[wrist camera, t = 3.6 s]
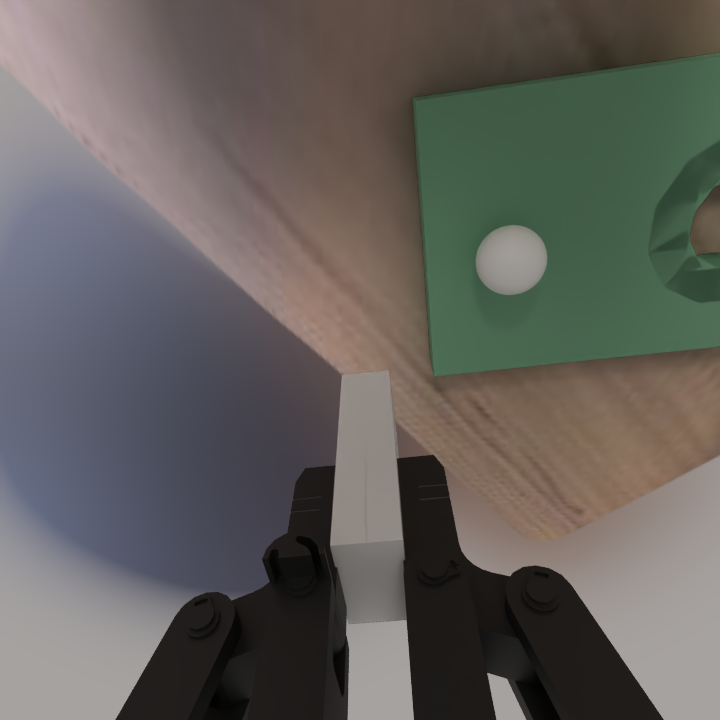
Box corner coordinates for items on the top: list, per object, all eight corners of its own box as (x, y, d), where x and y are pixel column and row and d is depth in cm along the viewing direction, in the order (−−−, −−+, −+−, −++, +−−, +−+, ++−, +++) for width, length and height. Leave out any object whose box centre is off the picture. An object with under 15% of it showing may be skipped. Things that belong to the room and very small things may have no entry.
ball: (469, 221, 26) (482, 242, 23) (537, 212, 25) (559, 232, 22) (470, 283, 27) (483, 310, 24) (534, 275, 27) (554, 302, 24)
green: (411, 97, 25) (456, 138, 13) (896, 26, 23) (1477, -5, 11) (430, 359, 32) (469, 539, 20) (794, 320, 31) (1070, 491, 19)
